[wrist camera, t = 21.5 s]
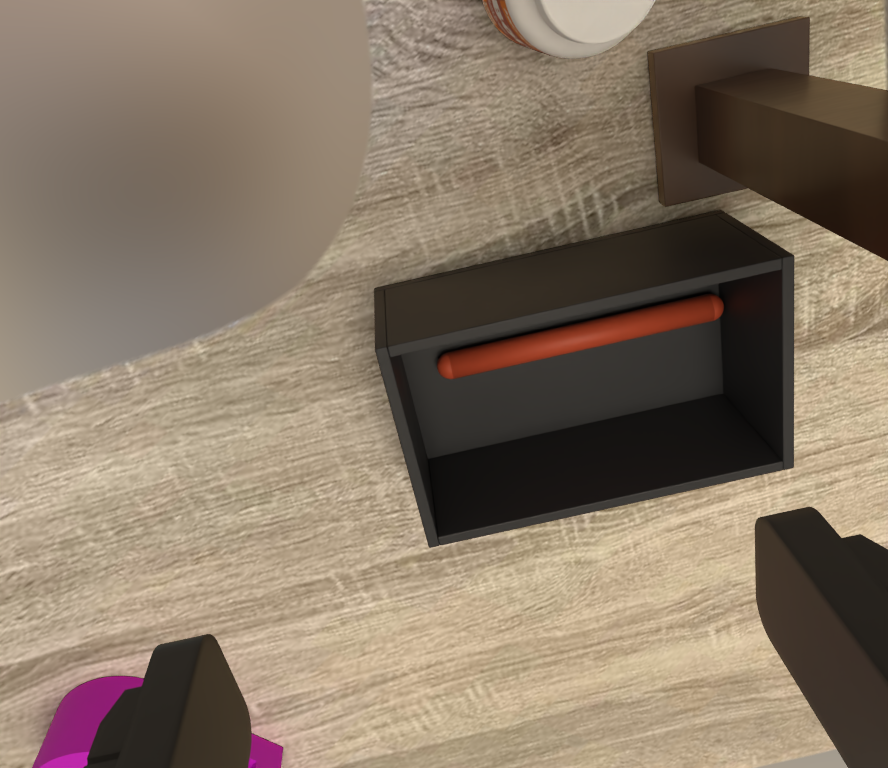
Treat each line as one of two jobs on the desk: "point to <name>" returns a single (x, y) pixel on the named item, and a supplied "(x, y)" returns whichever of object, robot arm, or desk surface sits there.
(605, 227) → the desk surface
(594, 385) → the bin
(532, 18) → the pill bottle
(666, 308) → the orange red rod
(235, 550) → the desk surface
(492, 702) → the desk surface
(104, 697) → the tape dispenser
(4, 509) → the desk surface
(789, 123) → the brown pedestal stand
